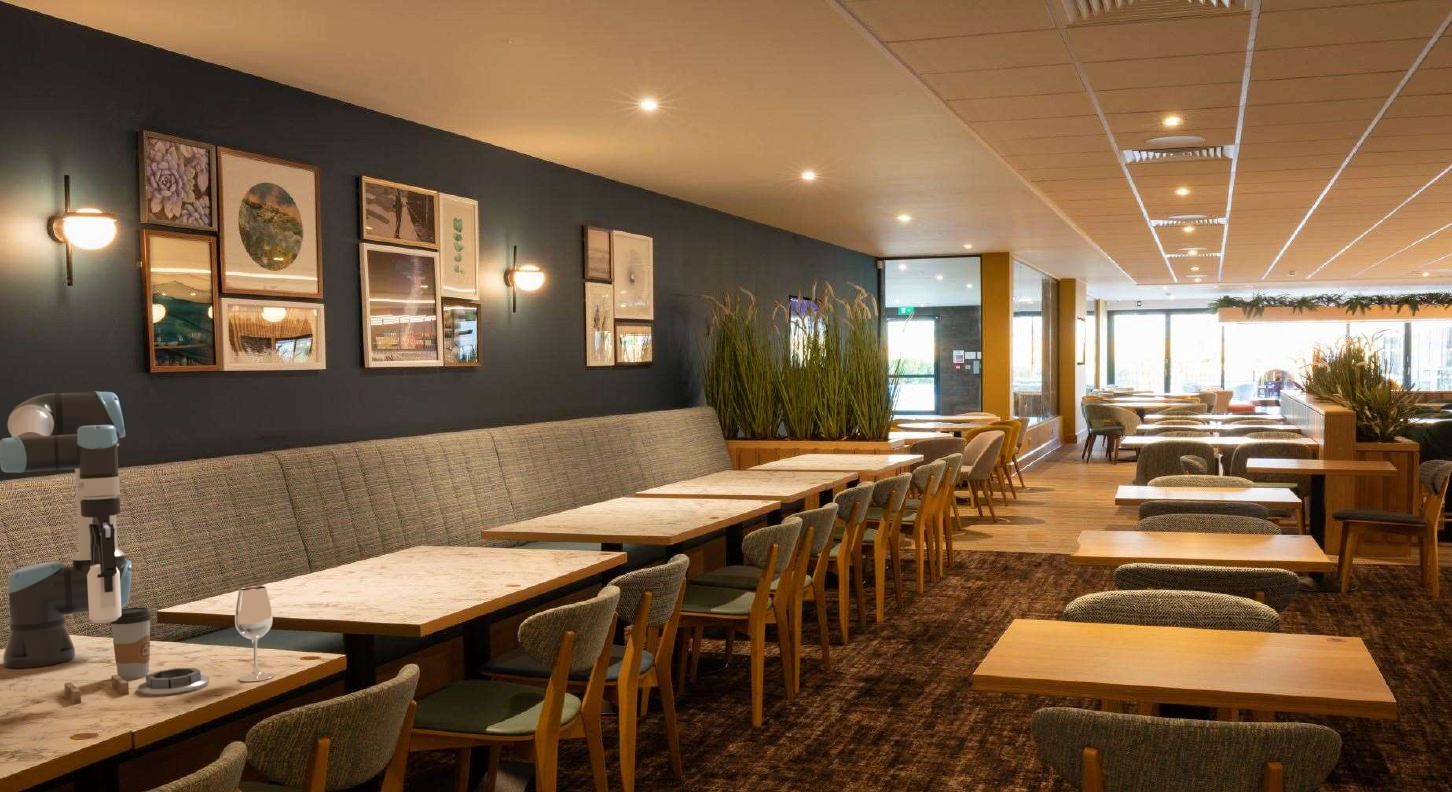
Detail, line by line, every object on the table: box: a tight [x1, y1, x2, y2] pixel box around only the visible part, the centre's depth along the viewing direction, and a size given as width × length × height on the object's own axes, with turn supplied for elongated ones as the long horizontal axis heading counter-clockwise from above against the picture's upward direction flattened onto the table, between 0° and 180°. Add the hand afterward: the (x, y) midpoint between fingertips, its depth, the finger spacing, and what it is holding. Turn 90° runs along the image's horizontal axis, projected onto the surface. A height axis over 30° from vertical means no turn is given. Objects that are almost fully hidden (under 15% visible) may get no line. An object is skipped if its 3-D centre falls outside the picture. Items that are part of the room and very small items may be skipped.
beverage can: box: [87, 564, 122, 624], centre depth 263 cm, size 6×6×12 cm
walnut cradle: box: [64, 674, 130, 705], centre depth 263 cm, size 10×10×2 cm
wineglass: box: [234, 585, 275, 683], centre depth 273 cm, size 8×8×20 cm
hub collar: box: [137, 667, 210, 697], centre depth 267 cm, size 14×14×3 cm
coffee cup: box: [110, 606, 152, 681], centre depth 278 cm, size 8×8×15 cm
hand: (105, 604), depth 263 cm, fingers closed on beverage can, 6 cm apart
